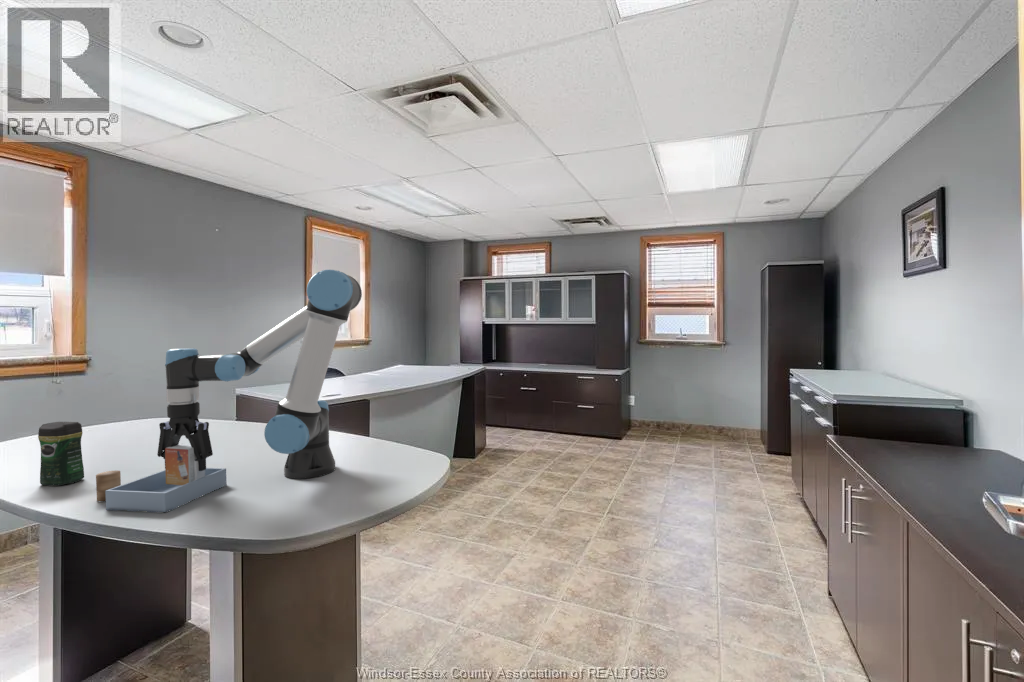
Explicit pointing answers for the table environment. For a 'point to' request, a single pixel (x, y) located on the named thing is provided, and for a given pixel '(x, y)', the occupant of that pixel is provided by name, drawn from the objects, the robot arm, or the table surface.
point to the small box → (179, 464)
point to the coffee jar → (60, 453)
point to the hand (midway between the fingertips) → (185, 481)
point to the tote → (162, 492)
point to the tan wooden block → (106, 483)
